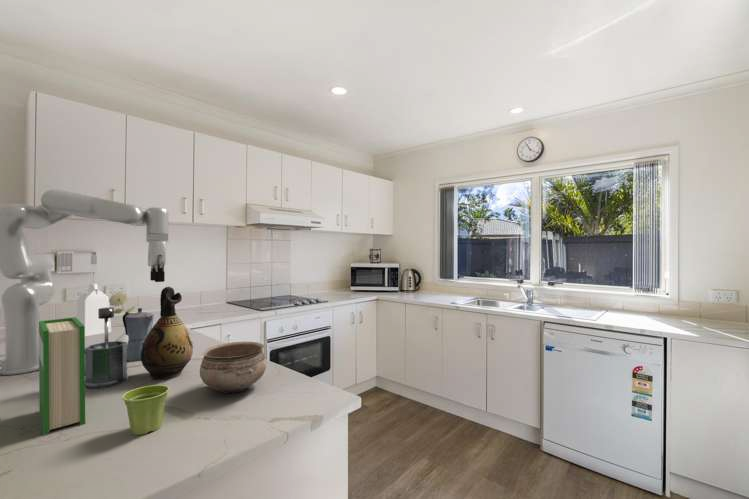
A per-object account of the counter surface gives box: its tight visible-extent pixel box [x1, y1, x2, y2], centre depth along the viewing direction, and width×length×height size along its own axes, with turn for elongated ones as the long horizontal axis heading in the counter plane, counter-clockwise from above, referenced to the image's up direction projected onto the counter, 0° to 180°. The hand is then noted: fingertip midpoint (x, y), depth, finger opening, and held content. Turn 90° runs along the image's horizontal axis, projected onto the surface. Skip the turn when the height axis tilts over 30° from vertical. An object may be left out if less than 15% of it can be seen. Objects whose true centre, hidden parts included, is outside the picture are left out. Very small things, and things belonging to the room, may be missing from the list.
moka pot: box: [122, 307, 155, 362], centre depth 140 cm, size 10×15×20 cm, turn 78°
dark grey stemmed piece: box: [98, 306, 115, 348], centre depth 114 cm, size 7×7×14 cm
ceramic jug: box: [140, 286, 194, 381], centre depth 121 cm, size 17×15×30 cm
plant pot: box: [121, 384, 170, 435], centre depth 83 cm, size 9×9×9 cm
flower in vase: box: [109, 290, 135, 344], centre depth 160 cm, size 13×11×25 cm
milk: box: [75, 283, 112, 337], centre depth 186 cm, size 12×12×26 cm
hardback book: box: [38, 316, 86, 436], centre depth 89 cm, size 18×7×24 cm, turn 46°
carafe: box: [85, 340, 128, 390], centre depth 113 cm, size 14×11×12 cm
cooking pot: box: [199, 341, 268, 394], centre depth 107 cm, size 25×19×12 cm
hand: (157, 281), depth 141 cm, fingers open, 9 cm apart
